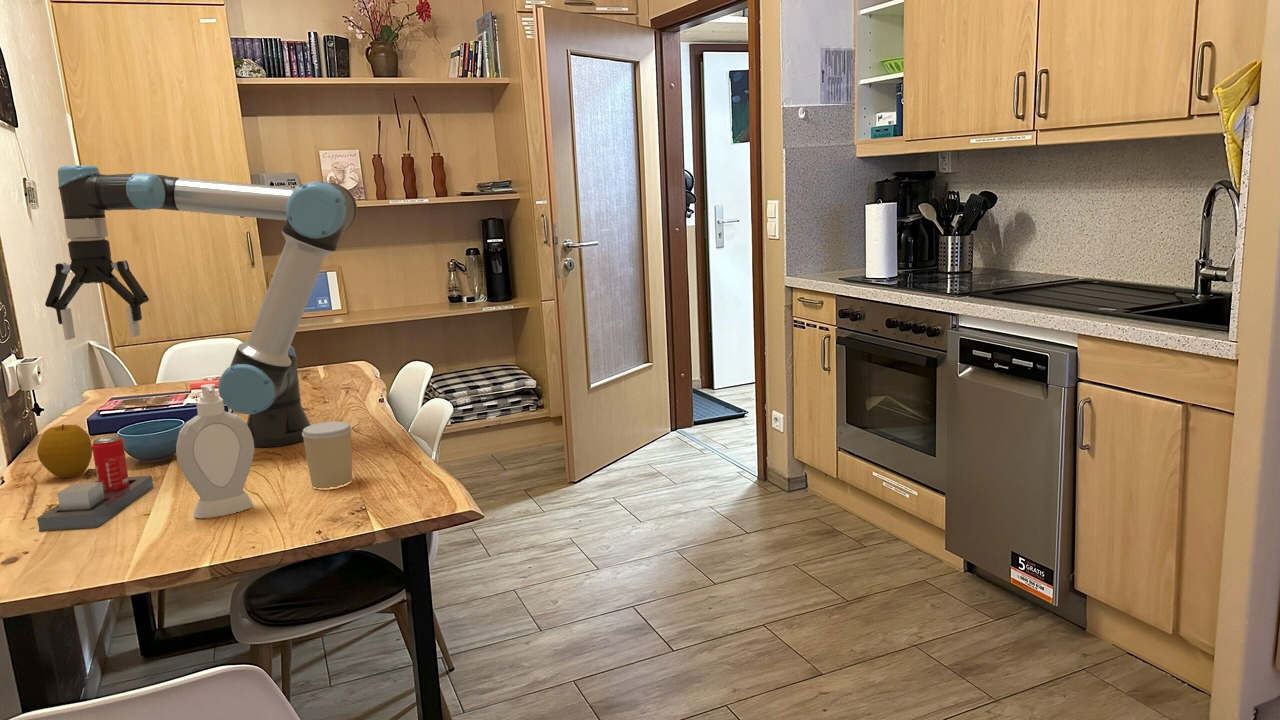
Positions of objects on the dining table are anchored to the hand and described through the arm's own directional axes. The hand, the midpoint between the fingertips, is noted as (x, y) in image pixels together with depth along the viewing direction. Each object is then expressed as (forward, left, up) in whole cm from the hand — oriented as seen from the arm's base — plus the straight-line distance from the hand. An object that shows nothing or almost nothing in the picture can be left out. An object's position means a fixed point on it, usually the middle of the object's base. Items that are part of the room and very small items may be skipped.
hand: (103, 337), depth 190 cm
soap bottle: (-36, +38, -29) cm, 60 cm away
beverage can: (-10, +25, -29) cm, 39 cm away
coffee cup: (-52, +24, -29) cm, 64 cm away
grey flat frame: (-10, +30, -29) cm, 43 cm away
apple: (+7, +8, -29) cm, 31 cm away
